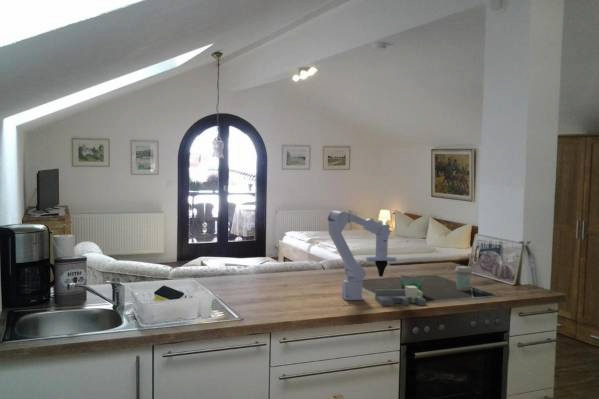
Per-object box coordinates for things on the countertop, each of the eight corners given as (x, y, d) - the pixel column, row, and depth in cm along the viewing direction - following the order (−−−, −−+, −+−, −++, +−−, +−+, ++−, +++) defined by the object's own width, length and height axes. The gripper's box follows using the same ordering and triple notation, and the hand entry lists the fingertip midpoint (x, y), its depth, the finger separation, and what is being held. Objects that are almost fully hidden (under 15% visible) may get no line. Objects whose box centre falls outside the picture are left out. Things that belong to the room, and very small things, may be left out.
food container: (403, 297, 275) (404, 277, 274) (399, 294, 281) (399, 274, 280) (427, 296, 277) (428, 276, 276) (422, 293, 283) (423, 274, 282)
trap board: (382, 305, 257) (382, 295, 257) (375, 299, 268) (375, 289, 268) (425, 304, 260) (426, 294, 260) (417, 299, 271) (417, 289, 271)
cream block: (408, 297, 264) (408, 287, 264) (404, 295, 269) (405, 285, 268) (417, 297, 265) (417, 287, 265) (413, 295, 269) (414, 285, 269)
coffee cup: (461, 292, 289) (462, 268, 288) (450, 288, 297) (451, 266, 296) (474, 290, 292) (475, 268, 291) (464, 287, 300) (465, 265, 299)
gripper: (369, 249, 270) (368, 277, 271) (398, 249, 272) (397, 277, 273) (365, 247, 277) (364, 274, 278) (393, 247, 279) (393, 274, 280)
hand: (380, 276), depth 276 cm, fingers closed
